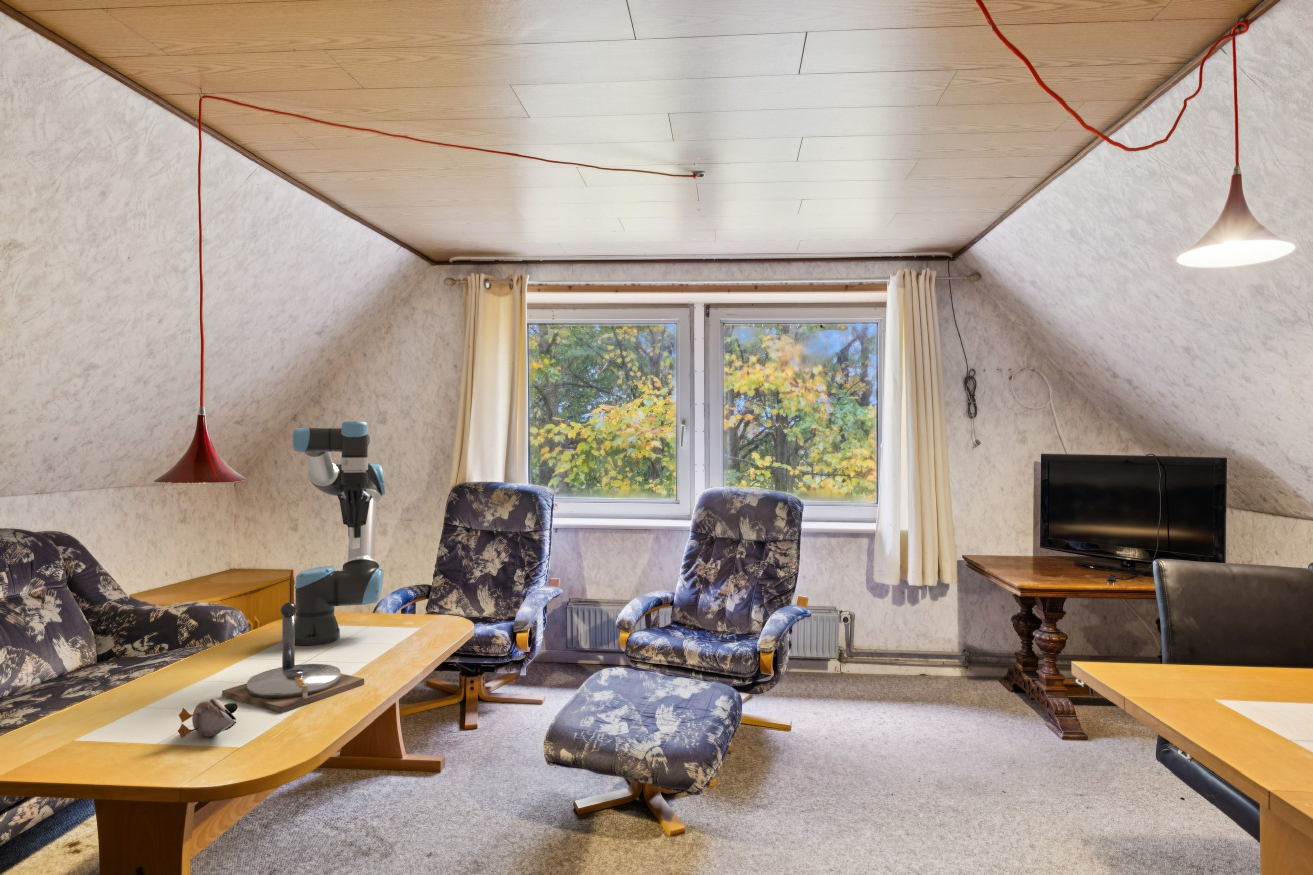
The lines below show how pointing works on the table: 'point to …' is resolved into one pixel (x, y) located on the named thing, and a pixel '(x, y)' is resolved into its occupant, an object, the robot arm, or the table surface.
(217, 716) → the decorative duck model
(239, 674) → the table surface
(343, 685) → the walnut stand board
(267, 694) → the dial
